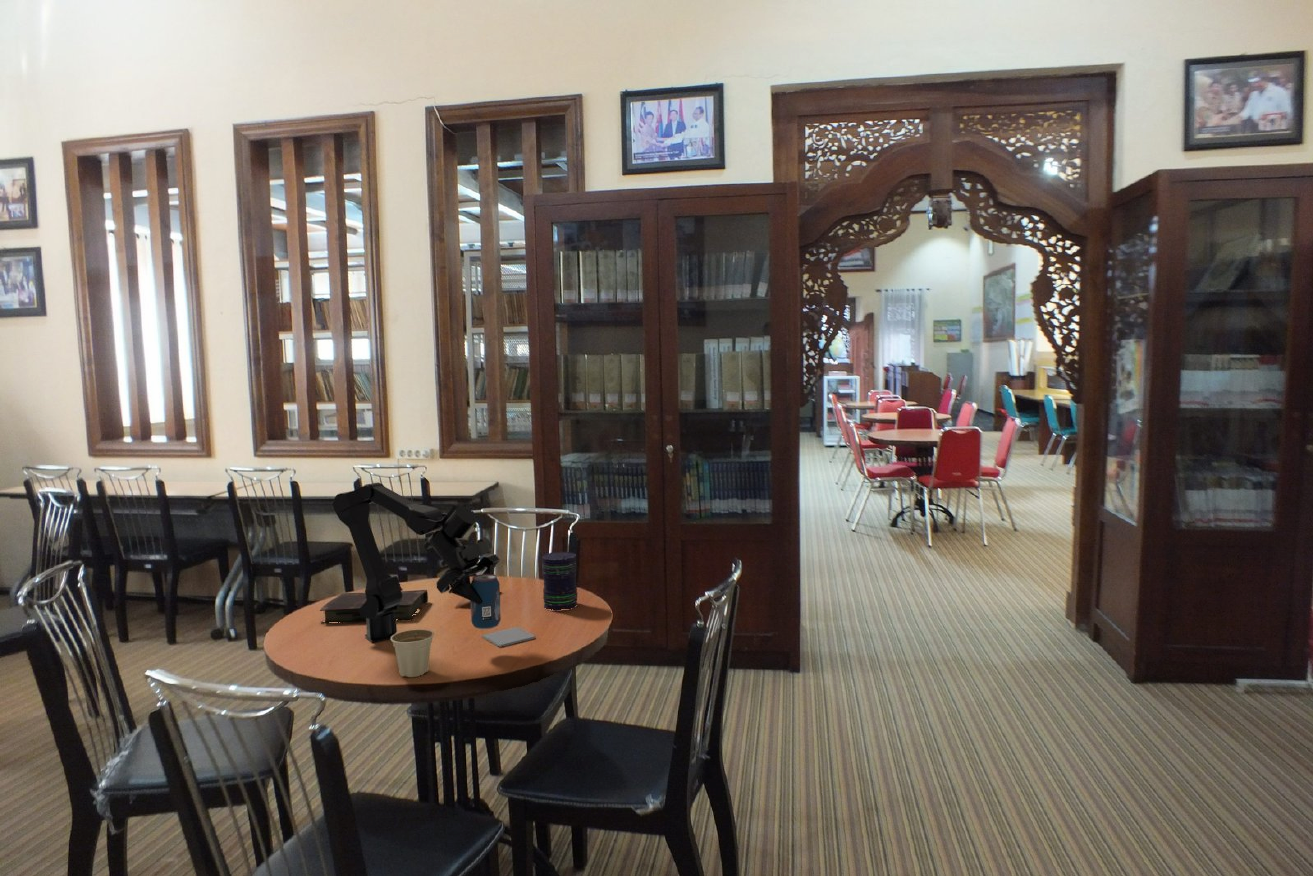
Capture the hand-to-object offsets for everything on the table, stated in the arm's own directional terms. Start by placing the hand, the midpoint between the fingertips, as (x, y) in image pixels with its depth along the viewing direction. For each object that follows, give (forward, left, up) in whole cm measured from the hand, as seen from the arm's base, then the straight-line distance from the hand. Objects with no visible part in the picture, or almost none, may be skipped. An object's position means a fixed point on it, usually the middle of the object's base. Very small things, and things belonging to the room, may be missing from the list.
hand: (490, 599), depth 184 cm
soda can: (-1, +1, -7) cm, 7 cm away
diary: (-11, +53, -14) cm, 56 cm away
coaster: (+8, +7, -13) cm, 17 cm away
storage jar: (+32, +22, -13) cm, 41 cm away
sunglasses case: (+16, +45, -14) cm, 50 cm away
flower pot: (-19, 0, -13) cm, 23 cm away
